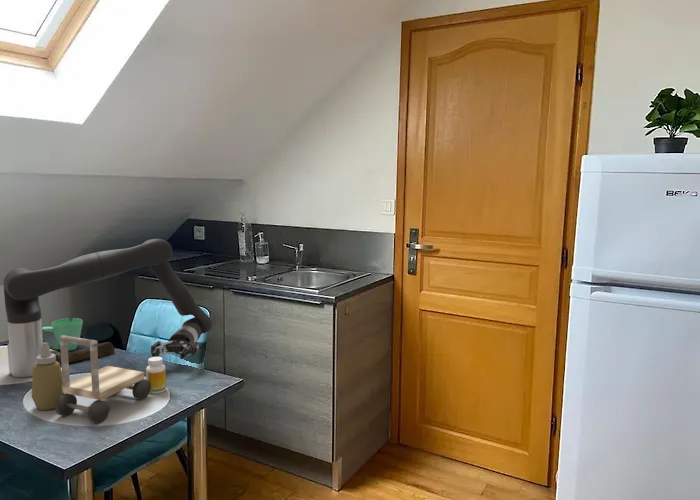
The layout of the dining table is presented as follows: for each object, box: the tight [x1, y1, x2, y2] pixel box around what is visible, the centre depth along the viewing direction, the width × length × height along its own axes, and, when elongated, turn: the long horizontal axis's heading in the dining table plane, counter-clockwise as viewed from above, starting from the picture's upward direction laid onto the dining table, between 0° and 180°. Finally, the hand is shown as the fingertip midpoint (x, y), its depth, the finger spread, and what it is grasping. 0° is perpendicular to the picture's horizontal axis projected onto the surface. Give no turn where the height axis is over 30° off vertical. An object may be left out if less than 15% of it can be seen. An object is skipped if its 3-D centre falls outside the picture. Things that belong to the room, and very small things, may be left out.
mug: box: [42, 317, 83, 352], centre depth 199 cm, size 15×10×10 cm
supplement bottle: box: [145, 356, 167, 394], centre depth 165 cm, size 5×5×10 cm
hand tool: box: [55, 341, 115, 366], centre depth 190 cm, size 19×4×5 cm, turn 133°
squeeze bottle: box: [31, 341, 65, 411], centre depth 153 cm, size 8×8×18 cm
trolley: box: [54, 335, 151, 424], centre depth 153 cm, size 13×22×22 cm, turn 159°
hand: (167, 355), depth 175 cm, fingers open, 8 cm apart
